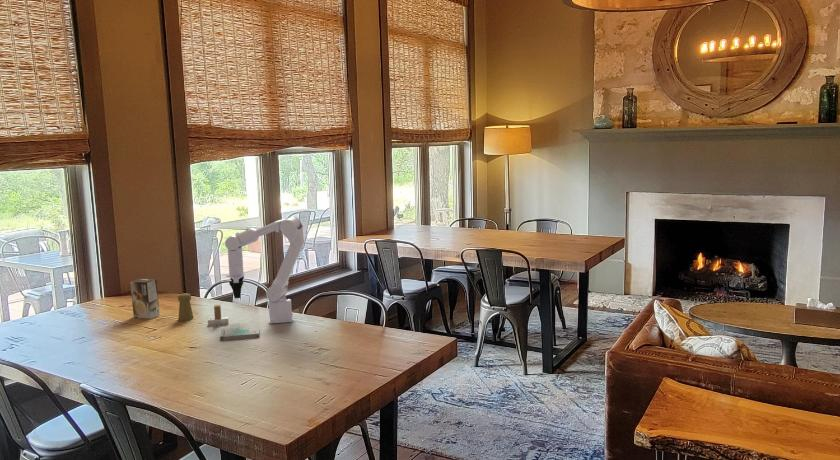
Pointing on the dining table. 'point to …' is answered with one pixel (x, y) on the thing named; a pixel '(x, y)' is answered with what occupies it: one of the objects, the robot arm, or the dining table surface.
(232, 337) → the frame
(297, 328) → the dining table surface
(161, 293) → the dining table surface
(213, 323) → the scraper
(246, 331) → the tile
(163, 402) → the dining table surface
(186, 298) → the cork
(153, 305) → the coffee box
